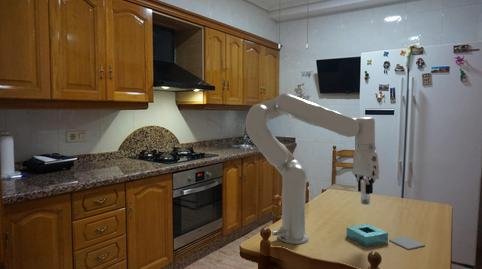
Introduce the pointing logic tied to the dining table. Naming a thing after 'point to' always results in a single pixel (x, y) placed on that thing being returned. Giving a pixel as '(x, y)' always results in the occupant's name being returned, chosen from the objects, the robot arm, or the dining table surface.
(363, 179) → the steel key rod
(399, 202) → the dining table surface
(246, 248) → the dining table surface
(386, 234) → the teal socket block
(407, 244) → the grey rubber mat
